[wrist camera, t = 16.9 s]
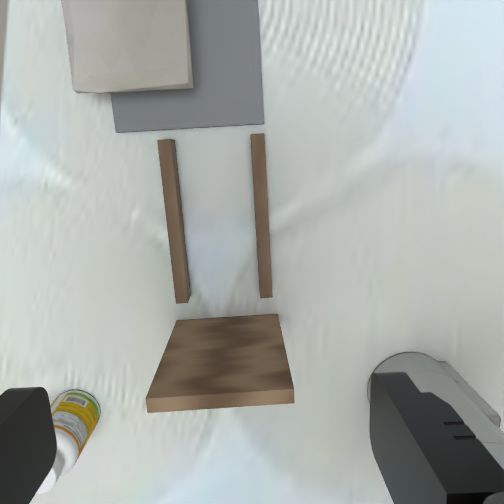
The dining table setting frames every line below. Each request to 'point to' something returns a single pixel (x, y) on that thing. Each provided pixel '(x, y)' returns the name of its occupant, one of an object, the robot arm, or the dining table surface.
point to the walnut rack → (219, 322)
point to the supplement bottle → (70, 431)
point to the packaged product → (128, 45)
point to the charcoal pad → (206, 75)
